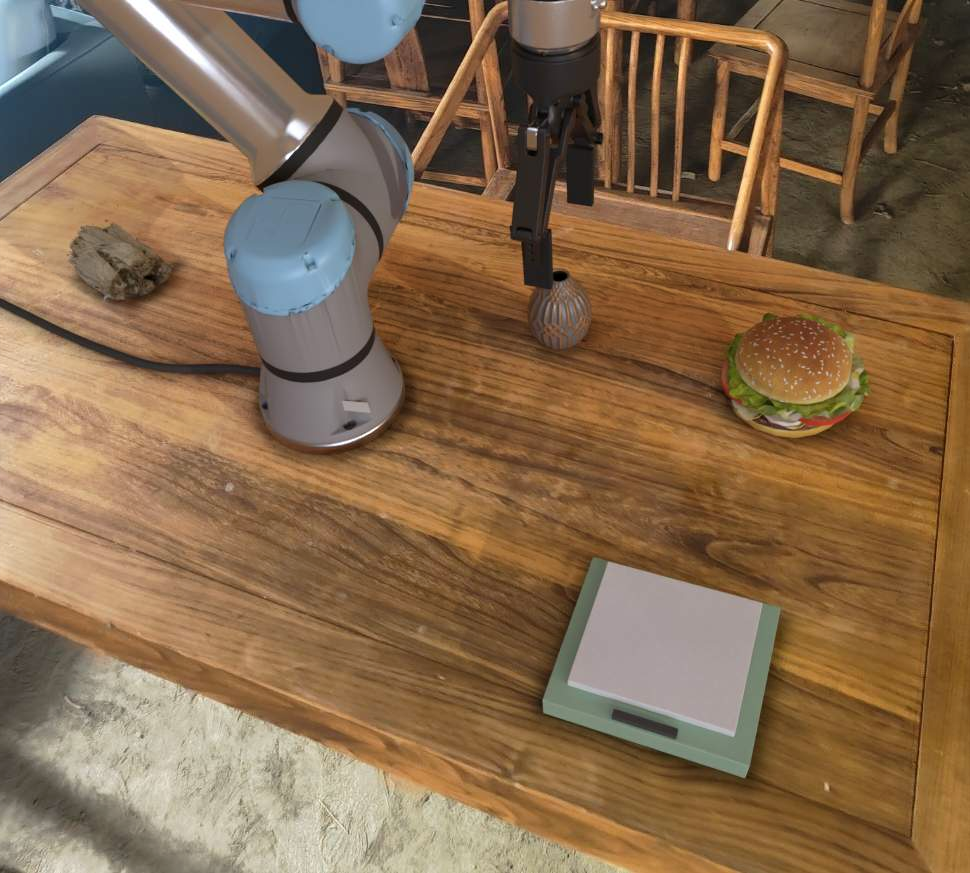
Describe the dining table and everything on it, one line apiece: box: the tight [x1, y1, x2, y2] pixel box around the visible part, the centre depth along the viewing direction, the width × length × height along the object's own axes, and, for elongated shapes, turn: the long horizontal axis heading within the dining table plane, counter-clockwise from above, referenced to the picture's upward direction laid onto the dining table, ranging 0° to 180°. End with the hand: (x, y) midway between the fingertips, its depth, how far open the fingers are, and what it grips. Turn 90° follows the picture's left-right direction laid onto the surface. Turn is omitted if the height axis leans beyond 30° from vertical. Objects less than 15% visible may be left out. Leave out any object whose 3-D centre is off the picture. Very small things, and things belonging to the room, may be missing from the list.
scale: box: [541, 556, 782, 779], centre depth 75 cm, size 16×14×3 cm
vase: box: [526, 267, 593, 350], centre depth 99 cm, size 7×7×9 cm
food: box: [720, 312, 871, 439], centre depth 91 cm, size 14×14×8 cm
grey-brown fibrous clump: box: [65, 219, 175, 304], centre depth 113 cm, size 14×10×5 cm, turn 47°
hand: (560, 242), depth 93 cm, fingers open, 13 cm apart
